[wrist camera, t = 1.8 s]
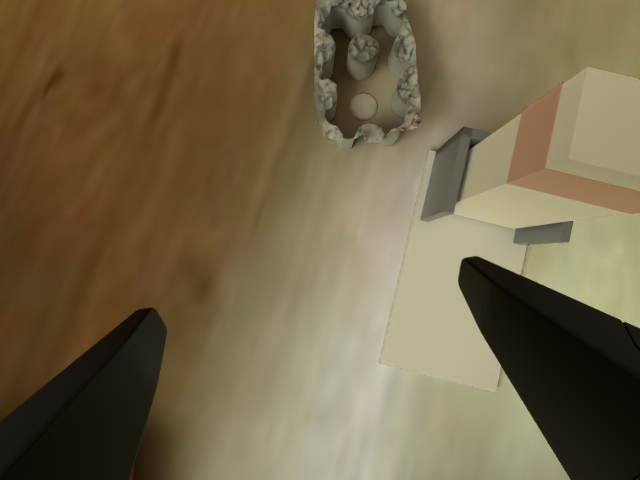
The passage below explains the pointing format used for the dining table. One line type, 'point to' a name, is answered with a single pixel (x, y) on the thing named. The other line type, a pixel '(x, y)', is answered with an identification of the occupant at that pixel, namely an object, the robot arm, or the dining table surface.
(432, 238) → the box holder
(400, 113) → the grey lumpy piece
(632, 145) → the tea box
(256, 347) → the dining table surface
